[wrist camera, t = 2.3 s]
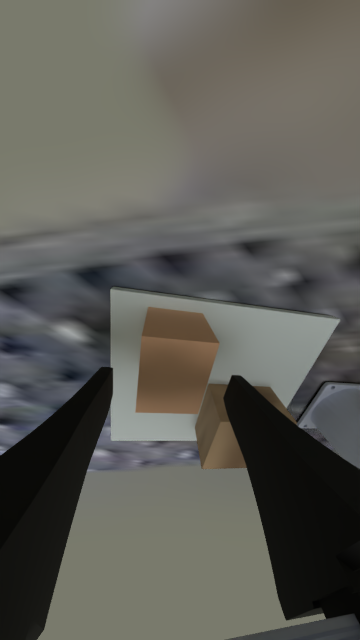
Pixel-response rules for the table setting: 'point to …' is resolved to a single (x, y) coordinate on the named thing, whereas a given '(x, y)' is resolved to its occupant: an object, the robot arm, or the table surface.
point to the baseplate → (231, 359)
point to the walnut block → (224, 428)
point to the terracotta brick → (174, 361)
